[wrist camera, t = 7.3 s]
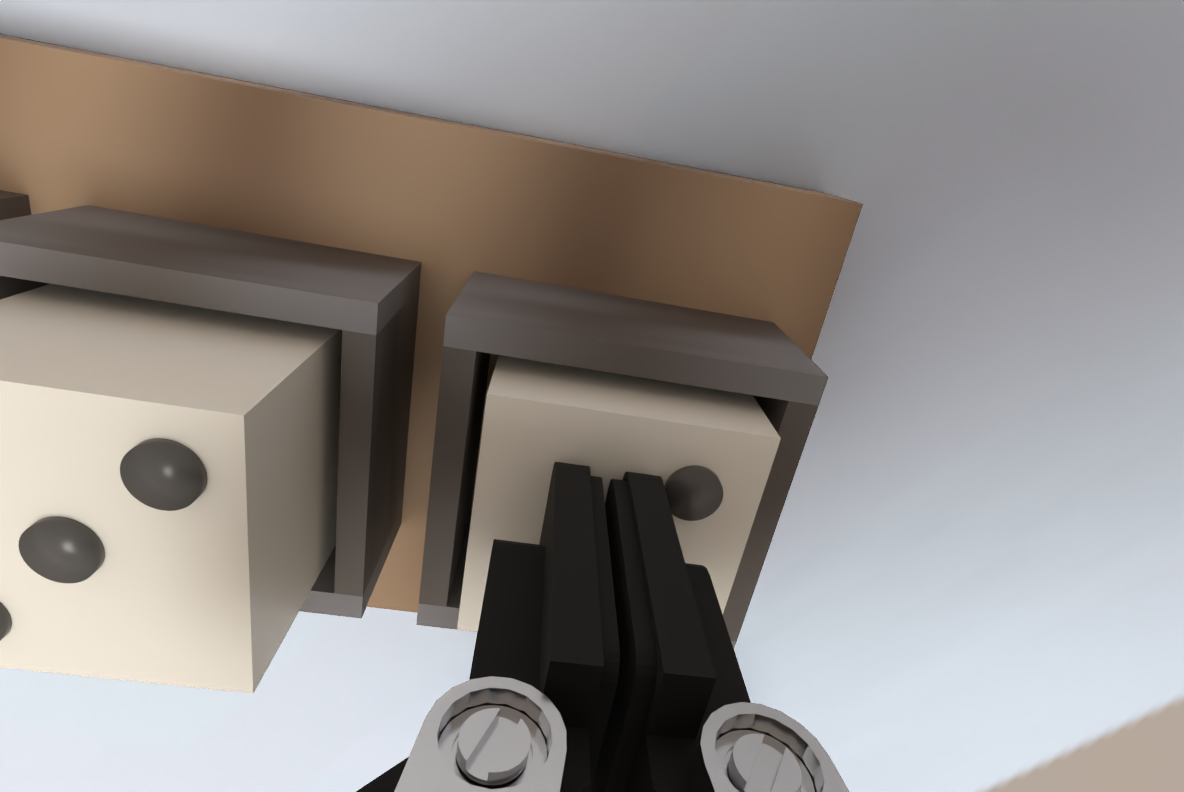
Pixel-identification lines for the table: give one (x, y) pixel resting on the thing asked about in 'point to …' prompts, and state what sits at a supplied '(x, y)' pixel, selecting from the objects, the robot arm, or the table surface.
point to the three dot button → (160, 485)
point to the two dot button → (616, 460)
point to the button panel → (416, 275)
